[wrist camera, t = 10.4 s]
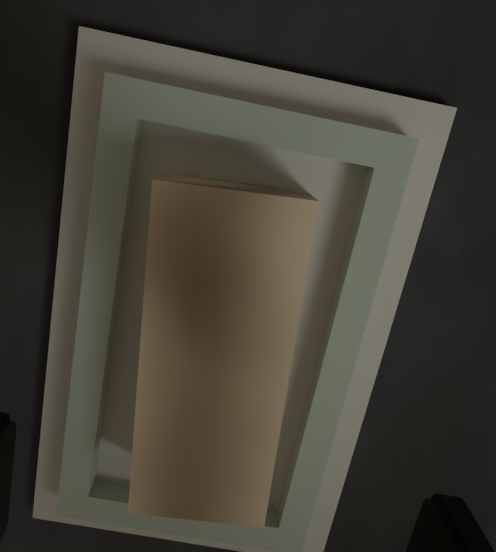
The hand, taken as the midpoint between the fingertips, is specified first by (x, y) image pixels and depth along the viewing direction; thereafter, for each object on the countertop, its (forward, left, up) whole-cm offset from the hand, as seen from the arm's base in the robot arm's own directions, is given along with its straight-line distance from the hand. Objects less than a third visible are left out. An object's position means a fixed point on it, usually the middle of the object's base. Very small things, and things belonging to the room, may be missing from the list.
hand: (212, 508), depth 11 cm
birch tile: (0, 0, -9) cm, 9 cm away
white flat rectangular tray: (0, 0, -9) cm, 9 cm away
